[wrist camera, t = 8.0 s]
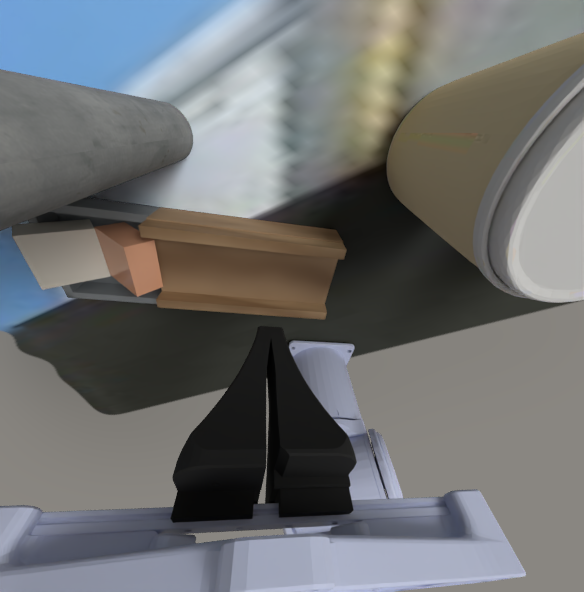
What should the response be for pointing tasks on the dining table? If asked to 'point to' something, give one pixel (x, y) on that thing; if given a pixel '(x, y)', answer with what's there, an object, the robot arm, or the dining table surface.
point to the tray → (99, 216)
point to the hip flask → (77, 142)
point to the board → (242, 264)
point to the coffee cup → (504, 170)
